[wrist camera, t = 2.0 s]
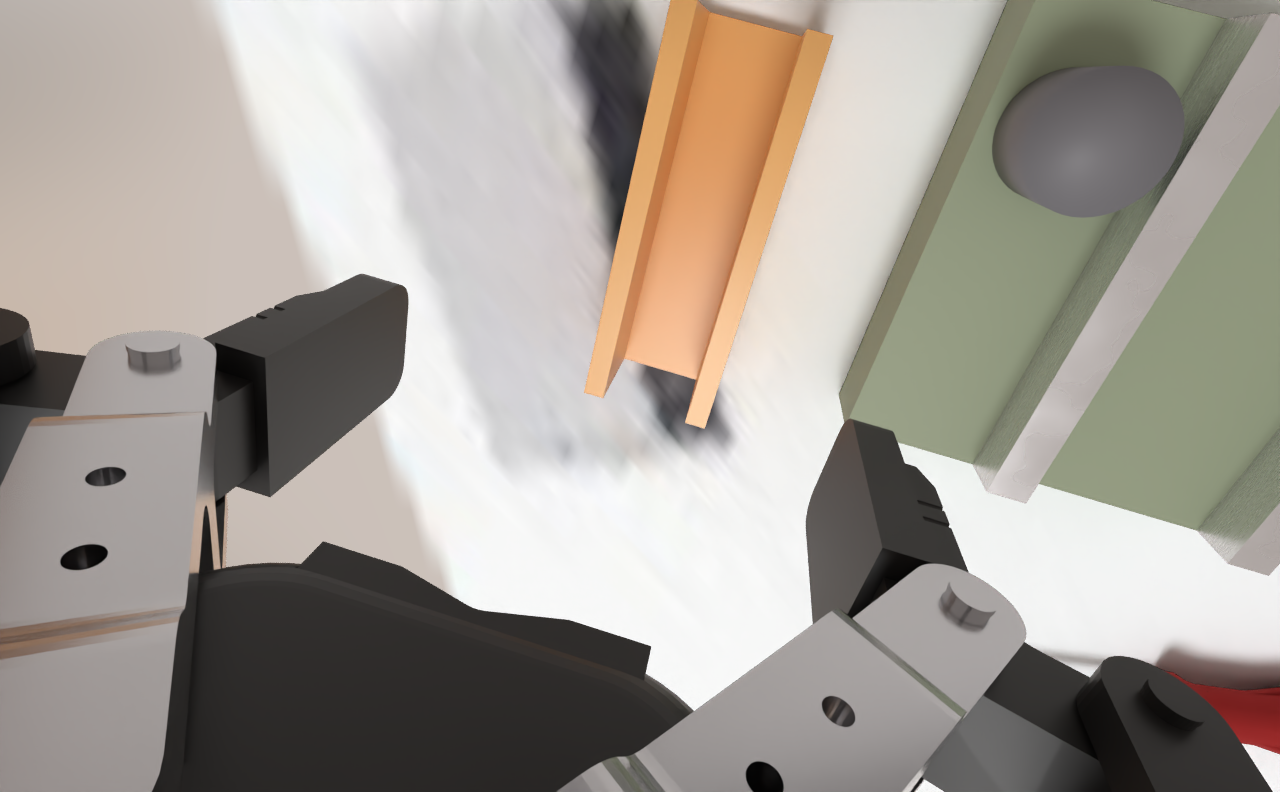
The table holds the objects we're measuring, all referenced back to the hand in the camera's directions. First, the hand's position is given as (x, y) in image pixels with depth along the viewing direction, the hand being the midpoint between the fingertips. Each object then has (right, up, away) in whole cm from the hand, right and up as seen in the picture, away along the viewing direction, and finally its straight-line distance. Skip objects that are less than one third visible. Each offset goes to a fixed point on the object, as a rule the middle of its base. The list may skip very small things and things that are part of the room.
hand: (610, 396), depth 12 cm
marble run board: (+19, +5, +14) cm, 24 cm away
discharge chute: (+3, +8, +16) cm, 18 cm away
